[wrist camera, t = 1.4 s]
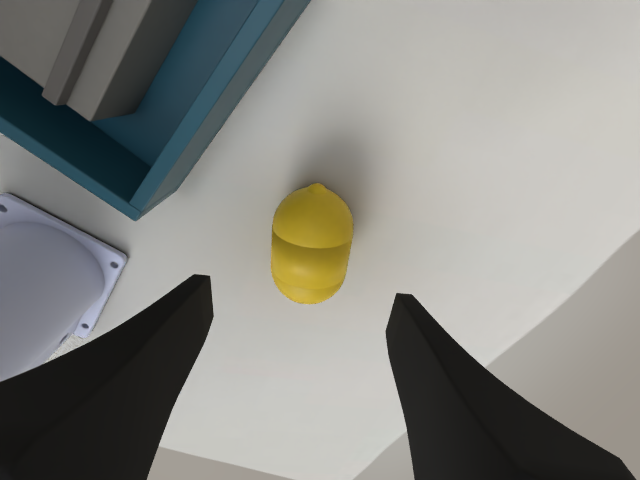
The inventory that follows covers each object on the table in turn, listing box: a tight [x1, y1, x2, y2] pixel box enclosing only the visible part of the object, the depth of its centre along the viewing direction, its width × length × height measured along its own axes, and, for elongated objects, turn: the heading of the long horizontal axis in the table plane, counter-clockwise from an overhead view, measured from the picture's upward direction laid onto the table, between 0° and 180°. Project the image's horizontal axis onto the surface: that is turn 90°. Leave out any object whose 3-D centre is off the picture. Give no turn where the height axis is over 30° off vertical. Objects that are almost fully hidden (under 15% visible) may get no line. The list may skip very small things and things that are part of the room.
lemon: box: [271, 183, 354, 304], centre depth 18 cm, size 8×5×5 cm, turn 174°
